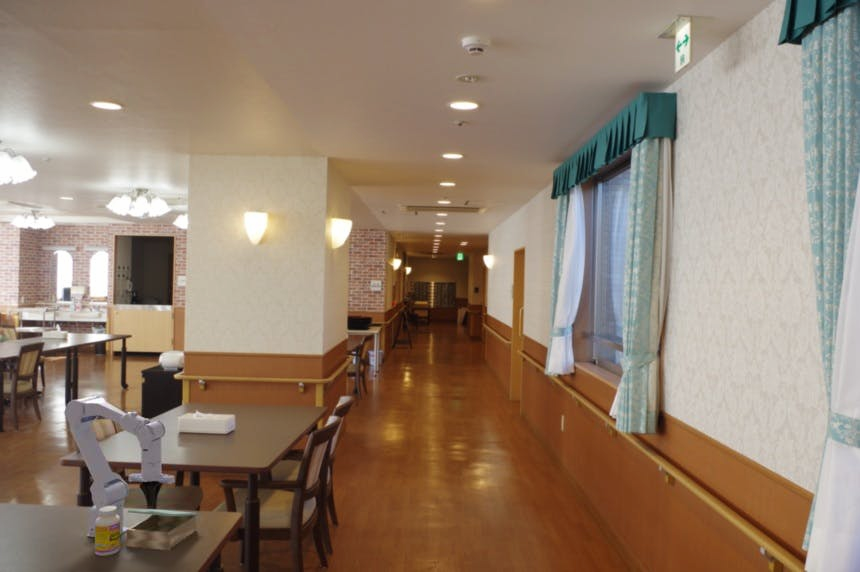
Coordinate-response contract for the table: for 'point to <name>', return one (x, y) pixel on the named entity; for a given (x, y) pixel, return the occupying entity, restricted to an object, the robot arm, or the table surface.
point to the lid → (162, 512)
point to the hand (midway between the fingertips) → (151, 505)
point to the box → (161, 531)
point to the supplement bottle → (107, 531)
